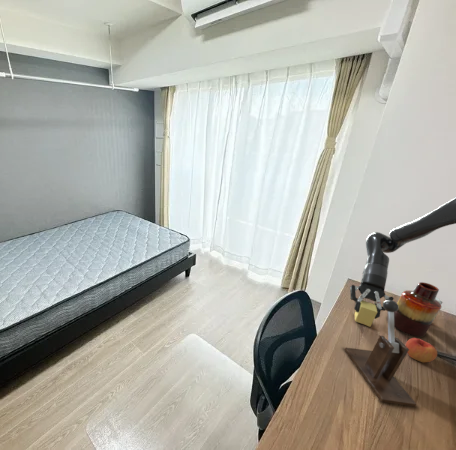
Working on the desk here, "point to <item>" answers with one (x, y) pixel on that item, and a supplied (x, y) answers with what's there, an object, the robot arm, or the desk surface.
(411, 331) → the vase
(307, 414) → the desk surface
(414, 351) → the apple
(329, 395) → the desk surface
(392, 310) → the ball knob lever
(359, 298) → the robot arm
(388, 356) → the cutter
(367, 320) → the butter
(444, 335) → the desk surface
